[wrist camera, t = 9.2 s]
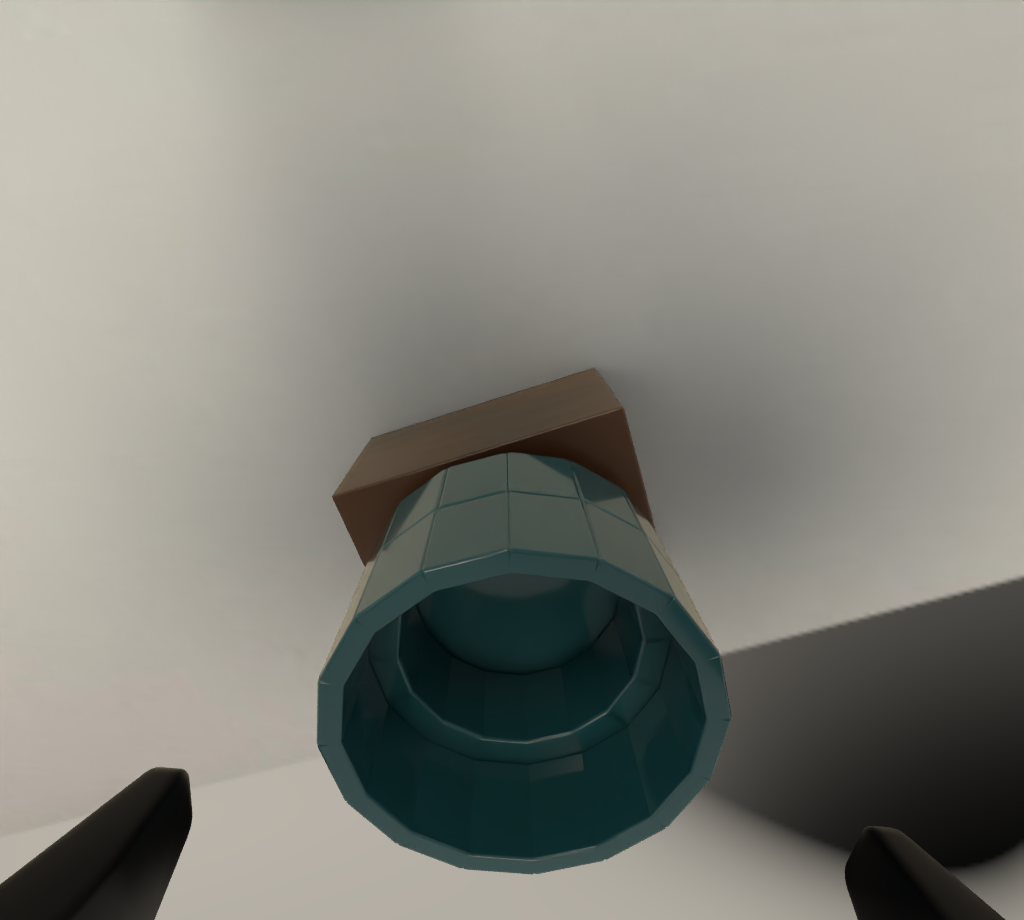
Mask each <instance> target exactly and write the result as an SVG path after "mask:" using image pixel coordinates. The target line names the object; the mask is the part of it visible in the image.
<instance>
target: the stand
mask: <svg viewBox="0 0 1024 920" xmlns="http://www.w3.org/2000/svg"><path fill="white" fill-rule="evenodd" d="M509 452H513V453H521V454H530V455H539V456H547V457H556V458H564V459H568V460H569V462H570V461H572V462H575V463H577V464H579V465H581V466H583V467H585V468H586V469H588V470H590V471H592V472H594V473H596V474H597V475H599V476H601V477H603V478H605V479H607V480H608V481H610V482H612V483H614V484H616V485H618V486H619V487H620V488H621V489H623V490H625V492H626V493H627V494H628V496H629V497H630V498H631V499H632V501H633V502H634V503H635V505H636V506H637V507H638V509H639V510H640V511H641V512H642V514H643V515H644V516H645V518H646V519H647V520H648V522H649V523H650V524H651V526H652V527H653V528H654V530H655V526H654V522H653V518H652V514H651V510H650V507H649V503H648V499H647V495H646V491H645V487H644V483H643V480H642V476H641V472H640V468H639V464H638V460H637V457H636V453H635V449H634V445H633V441H632V437H631V433H630V430H629V426H628V422H627V418H626V414H625V410H624V408H623V406H622V405H621V403H620V402H619V401H618V399H617V398H616V397H615V395H614V394H613V392H612V391H611V390H610V388H609V387H608V386H607V384H606V383H605V381H604V380H603V379H602V377H601V376H600V375H599V373H598V372H597V370H596V369H595V368H592V369H589V370H586V371H583V372H580V373H576V374H573V375H570V376H567V377H564V378H561V379H557V380H554V381H551V382H548V383H545V384H542V385H538V386H535V387H532V388H529V389H526V390H522V391H519V392H516V393H513V394H510V395H507V396H503V397H500V398H497V399H494V400H491V401H488V402H484V403H481V404H478V405H475V406H472V407H469V408H465V409H462V410H459V411H456V412H453V413H449V414H446V415H443V416H440V417H437V418H434V419H430V420H427V421H424V422H421V423H418V424H415V425H411V426H408V427H405V428H402V429H399V430H396V431H392V432H389V433H386V434H383V435H380V436H376V437H373V438H371V439H370V441H369V442H368V444H367V445H366V447H365V448H364V450H363V451H362V453H361V454H360V455H359V457H358V458H357V460H356V461H355V463H354V464H353V466H352V467H351V469H350V470H349V472H348V473H347V475H346V476H345V478H344V479H343V481H342V482H341V484H340V485H339V487H338V488H337V490H336V491H335V493H334V494H333V496H332V498H333V500H334V502H335V504H336V507H337V509H338V511H339V513H340V515H341V517H342V519H343V521H344V524H345V526H346V528H347V530H348V532H349V534H350V536H351V538H352V541H353V543H354V545H355V547H356V549H357V551H358V553H359V555H360V558H361V560H362V562H363V564H364V566H365V567H366V565H367V562H368V560H369V558H370V555H371V553H372V551H373V548H374V546H375V545H376V543H377V541H378V539H379V537H380V536H381V534H382V532H383V530H384V528H385V527H386V525H387V523H388V521H389V519H390V518H391V516H392V514H393V512H394V510H395V509H396V507H397V505H398V504H400V502H401V501H402V500H403V499H405V498H406V497H407V496H409V495H410V494H411V493H413V492H414V491H415V490H417V489H418V488H420V487H421V486H422V485H424V484H425V483H426V482H428V481H429V480H430V479H432V478H433V477H434V476H436V475H437V474H438V473H440V472H441V471H442V470H444V469H448V468H450V467H452V466H456V465H460V464H464V463H467V462H471V461H475V460H479V459H483V458H487V457H491V456H494V455H498V454H502V453H505V454H508V453H509ZM655 531H656V530H655Z"/></svg>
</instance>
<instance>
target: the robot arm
mask: <svg viewBox="0 0 1024 920" xmlns="http://www.w3.org/2000/svg"><path fill="white" fill-rule="evenodd" d="M191 822H192V805H191V793H190V782H189V775H188V773H187V772H186V771H185V770H183V769H176V768H164V767H156V768H153V769H151V770H149V771H147V772H145V773H144V774H143V775H141V776H140V777H139V778H138V779H136V780H135V781H134V782H132V783H131V784H130V785H128V786H127V787H126V788H125V789H123V790H122V791H121V792H119V793H118V794H117V795H116V796H114V797H113V798H112V799H110V800H109V801H108V802H106V803H105V804H104V805H103V806H101V807H100V808H99V809H97V810H96V811H95V812H94V813H92V814H91V815H90V816H88V817H87V818H86V819H84V820H83V821H82V822H81V823H79V824H78V825H77V826H75V827H74V828H73V829H71V830H70V831H69V832H68V833H67V834H65V835H64V836H62V837H61V838H60V839H59V840H57V841H56V842H55V843H53V844H52V845H51V846H50V847H48V848H47V849H46V850H45V851H43V852H42V853H40V854H39V855H38V856H36V857H35V858H34V859H33V860H31V861H30V862H29V863H27V864H26V865H25V866H24V867H22V868H21V869H20V870H18V871H17V872H16V873H15V874H13V875H12V876H11V877H9V878H8V879H7V880H5V881H4V882H3V883H1V884H0V920H154V919H155V917H156V914H157V911H158V909H159V907H160V904H161V902H162V899H163V896H164V894H165V891H166V889H167V887H168V884H169V881H170V879H171V877H172V874H173V872H174V869H175V867H176V864H177V862H178V859H179V856H180V854H181V852H182V849H183V847H184V844H185V841H186V839H187V836H188V834H189V830H190V827H191ZM845 880H846V885H847V889H848V892H849V895H850V898H851V901H852V904H853V907H854V910H855V912H856V916H857V919H858V920H1005V919H1004V918H1003V917H1001V916H1000V915H999V914H998V913H997V912H996V911H995V910H993V909H992V908H991V907H990V906H989V905H988V904H986V903H985V902H984V901H983V900H982V899H980V898H979V897H978V896H977V895H976V894H974V893H973V892H972V891H971V890H970V889H969V888H968V887H966V886H965V885H964V884H963V883H962V882H961V881H959V880H958V879H957V878H956V877H954V876H953V875H952V874H951V873H950V872H949V871H948V870H946V869H945V868H944V867H943V866H942V865H941V864H939V863H938V862H937V861H936V860H935V859H934V858H932V857H931V856H930V855H929V854H928V853H926V852H925V851H924V850H923V849H922V848H920V847H919V846H918V845H917V844H916V843H915V842H914V841H912V840H911V839H910V838H909V837H907V836H906V835H905V834H904V833H903V832H901V831H899V830H897V829H894V828H888V827H875V826H868V827H866V828H865V829H863V830H862V832H861V834H860V836H859V838H858V840H857V842H856V844H855V846H854V848H853V850H852V853H851V855H850V857H849V859H848V861H847V863H846V866H845Z"/></svg>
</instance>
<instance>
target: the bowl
mask: <svg viewBox="0 0 1024 920" xmlns="http://www.w3.org/2000/svg"><path fill="white" fill-rule="evenodd" d="M730 722H731V711H730V705H729V699H728V694H727V688H726V682H725V677H724V671H723V665H722V659H721V655H720V653H719V651H718V649H717V647H716V645H715V643H714V641H713V639H712V637H711V635H710V633H709V632H708V630H707V628H706V626H705V624H704V622H703V620H702V618H701V616H700V615H699V613H698V611H697V609H696V607H695V605H694V603H693V601H692V599H691V597H690V596H689V594H688V592H687V590H686V588H685V586H684V584H683V582H682V581H681V579H680V577H679V575H678V573H677V571H676V569H675V567H674V566H673V564H672V562H671V560H670V558H669V556H668V554H667V552H666V550H665V548H664V547H663V545H662V543H661V541H660V539H659V537H658V535H657V533H656V531H655V530H654V528H653V527H652V526H651V524H650V523H649V522H648V520H647V519H646V518H645V516H644V515H643V514H642V512H641V511H640V510H639V509H638V507H637V506H636V505H635V503H634V502H633V501H632V499H631V498H630V497H629V496H628V494H627V493H626V492H625V490H623V489H621V488H620V487H619V486H618V485H616V484H614V483H612V482H610V481H608V480H607V479H605V478H603V477H601V476H599V475H597V474H596V473H594V472H592V471H590V470H588V469H586V468H585V467H583V466H581V465H579V464H577V463H575V462H572V461H570V462H569V460H568V459H564V458H556V457H547V456H539V455H530V454H521V453H513V452H509V453H508V454H505V453H502V454H498V455H494V456H491V457H487V458H483V459H479V460H475V461H471V462H467V463H464V464H460V465H456V466H452V467H450V468H448V469H444V470H442V471H441V472H440V473H438V474H437V475H436V476H434V477H433V478H432V479H430V480H429V481H428V482H426V483H425V484H424V485H422V486H421V487H420V488H418V489H417V490H415V491H414V492H413V493H411V494H410V495H409V496H407V497H406V498H405V499H403V500H402V501H401V502H400V504H398V505H397V507H396V509H395V510H394V512H393V514H392V516H391V518H390V519H389V521H388V523H387V525H386V527H385V528H384V530H383V532H382V534H381V536H380V537H379V539H378V541H377V543H376V545H375V546H374V548H373V551H372V553H371V555H370V558H369V560H368V562H367V565H366V567H365V570H364V572H363V574H362V577H361V579H360V581H359V584H358V586H357V588H356V591H355V593H354V596H353V598H352V601H351V603H350V605H349V607H348V610H347V612H346V614H345V617H344V619H343V621H342V624H341V626H340V628H339V631H338V633H337V636H336V638H335V640H334V643H333V645H332V647H331V650H330V652H329V654H328V657H327V659H326V662H325V664H324V666H323V669H322V671H321V673H320V676H319V680H318V698H317V744H318V748H319V750H320V752H321V754H322V756H323V758H324V760H325V762H326V764H327V766H328V768H329V770H330V772H331V774H332V776H333V778H334V780H335V782H336V784H337V785H338V788H339V790H340V792H341V793H342V795H343V797H344V799H345V801H347V803H348V804H349V805H350V806H351V807H353V808H354V809H355V810H356V811H357V812H359V813H360V814H361V815H362V816H363V817H365V818H366V819H367V820H368V821H369V822H371V823H372V824H373V825H374V826H376V827H377V828H378V829H379V830H380V831H382V832H383V833H384V834H385V835H387V836H388V837H389V838H391V840H392V841H394V842H395V843H398V844H399V845H400V846H403V847H405V848H408V849H411V850H413V851H416V852H419V853H421V854H424V855H427V856H429V857H432V858H434V859H437V860H440V861H443V862H445V863H448V864H450V865H453V866H456V867H458V868H463V867H464V869H468V870H481V871H494V872H508V873H521V874H534V873H535V874H539V873H545V872H550V871H554V870H559V869H564V868H570V867H574V866H579V865H585V864H590V863H595V862H599V861H603V860H604V859H609V858H610V857H613V856H614V855H616V854H618V853H620V852H622V851H624V850H626V849H628V848H629V847H631V846H633V845H635V844H637V843H639V842H641V841H643V840H645V839H647V838H648V837H650V836H652V835H654V834H656V833H658V832H660V831H662V830H664V829H665V827H667V826H669V825H670V824H671V823H672V822H673V820H674V819H675V818H676V817H677V816H678V815H679V814H680V813H681V812H682V811H683V810H684V809H685V807H686V806H687V805H688V804H689V803H690V802H691V801H692V800H693V799H694V797H696V795H697V794H698V793H699V792H700V791H701V790H702V789H703V788H704V787H705V785H707V784H708V782H709V781H710V778H712V776H713V773H714V770H715V767H716V764H717V761H718V758H719V755H720V752H721V749H722V746H723V743H724V740H725V737H726V734H727V731H728V728H729V725H730Z"/></svg>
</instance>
